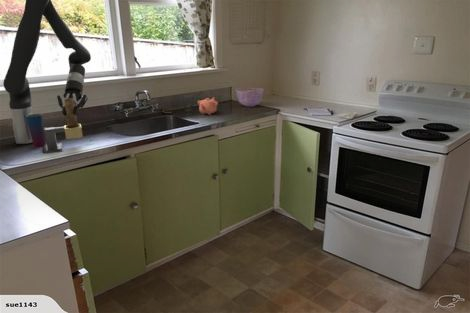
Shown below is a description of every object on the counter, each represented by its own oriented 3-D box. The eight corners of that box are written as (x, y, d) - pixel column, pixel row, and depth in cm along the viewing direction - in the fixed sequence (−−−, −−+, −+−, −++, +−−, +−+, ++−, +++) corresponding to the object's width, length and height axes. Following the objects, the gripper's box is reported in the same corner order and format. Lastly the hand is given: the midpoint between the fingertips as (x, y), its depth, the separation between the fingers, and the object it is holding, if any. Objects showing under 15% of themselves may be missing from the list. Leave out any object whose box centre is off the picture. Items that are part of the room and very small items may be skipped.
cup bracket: (42, 153, 171) (39, 132, 168) (43, 147, 180) (40, 127, 177) (84, 148, 178) (81, 127, 174) (83, 143, 186) (80, 123, 183)
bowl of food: (268, 104, 275) (269, 88, 272) (255, 109, 259) (255, 92, 256) (245, 102, 286) (245, 86, 282) (230, 106, 270) (230, 90, 266)
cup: (43, 142, 187) (37, 113, 182) (50, 145, 183) (44, 114, 178) (29, 146, 182) (23, 115, 177) (35, 148, 178) (29, 117, 173)
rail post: (68, 129, 175) (63, 99, 171) (68, 128, 179) (63, 98, 174) (78, 128, 177) (73, 99, 172) (77, 127, 180) (73, 97, 176)
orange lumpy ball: (219, 115, 243) (219, 99, 240) (201, 116, 240) (200, 100, 237) (214, 111, 256) (214, 96, 253) (197, 112, 254) (196, 96, 250)
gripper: (56, 79, 178) (50, 110, 170) (87, 79, 178) (82, 109, 171) (62, 89, 184) (57, 119, 177) (92, 88, 185) (87, 118, 177)
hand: (69, 114), depth 174 cm, fingers closed on rail post, 4 cm apart
